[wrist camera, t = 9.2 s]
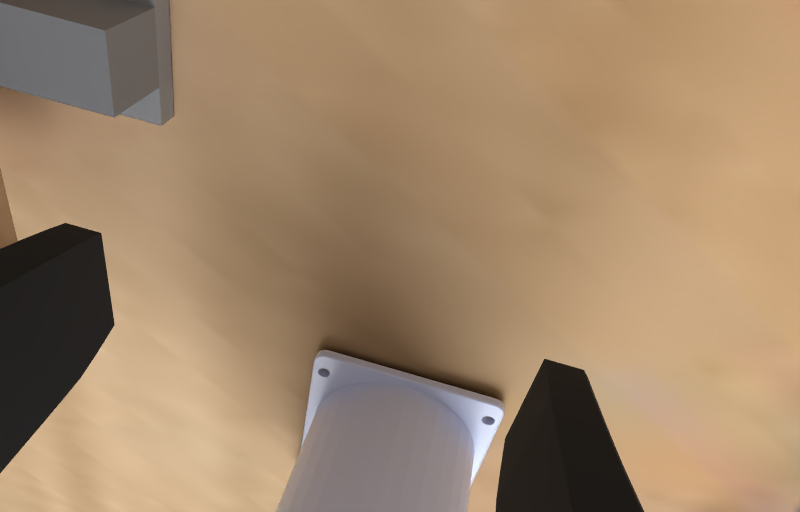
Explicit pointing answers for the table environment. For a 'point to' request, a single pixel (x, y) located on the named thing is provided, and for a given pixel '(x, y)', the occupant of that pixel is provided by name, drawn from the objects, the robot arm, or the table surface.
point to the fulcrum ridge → (90, 54)
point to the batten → (5, 219)
